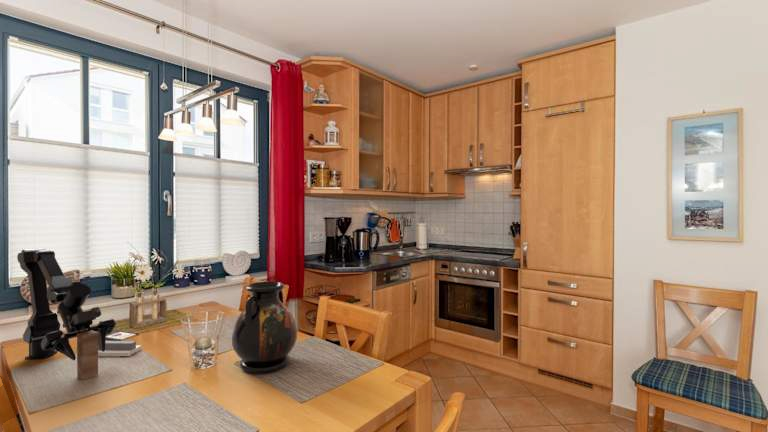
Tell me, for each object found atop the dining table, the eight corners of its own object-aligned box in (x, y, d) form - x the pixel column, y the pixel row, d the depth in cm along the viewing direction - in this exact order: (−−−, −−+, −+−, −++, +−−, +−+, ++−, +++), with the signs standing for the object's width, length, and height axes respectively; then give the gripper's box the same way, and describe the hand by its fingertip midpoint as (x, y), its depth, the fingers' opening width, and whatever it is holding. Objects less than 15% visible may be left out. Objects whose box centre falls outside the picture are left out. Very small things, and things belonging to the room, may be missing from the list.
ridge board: (79, 356, 136) (79, 345, 136) (94, 348, 143) (94, 338, 143) (128, 356, 136) (128, 345, 136) (141, 349, 143) (141, 338, 143)
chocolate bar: (108, 328, 165) (138, 333, 160) (108, 330, 165) (138, 335, 160) (86, 335, 157) (118, 340, 151) (86, 337, 157) (118, 342, 151)
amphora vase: (272, 383, 116) (272, 293, 115) (217, 373, 123) (217, 288, 122) (308, 357, 136) (308, 281, 136) (259, 349, 143) (259, 277, 143)
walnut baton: (77, 377, 119) (76, 333, 119) (91, 372, 123) (91, 330, 122) (83, 380, 117) (83, 335, 117) (98, 375, 121) (97, 332, 120)
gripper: (44, 307, 113) (61, 350, 108) (113, 295, 129) (130, 331, 124) (33, 329, 117) (49, 371, 112) (101, 314, 133) (118, 350, 128)
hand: (89, 355), depth 119 cm, fingers open, 8 cm apart
